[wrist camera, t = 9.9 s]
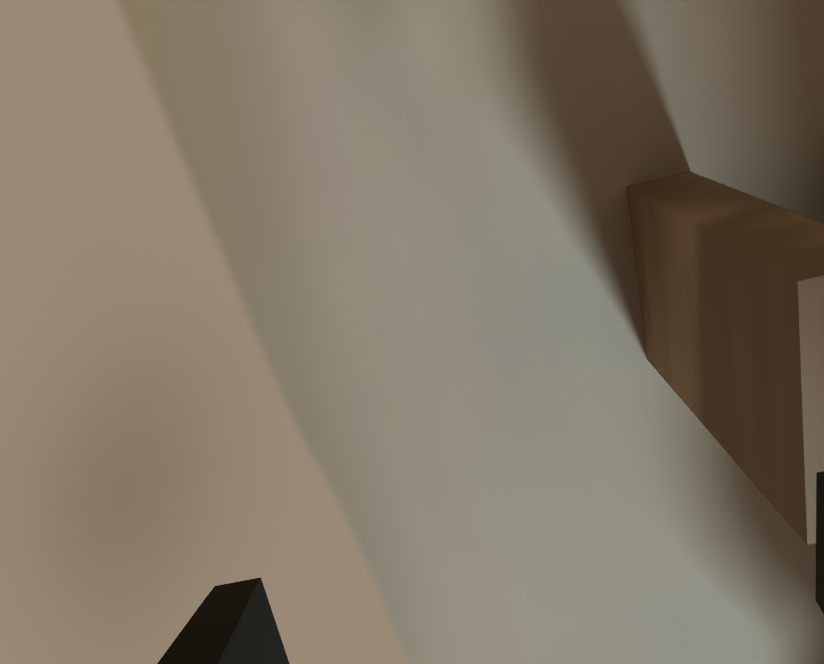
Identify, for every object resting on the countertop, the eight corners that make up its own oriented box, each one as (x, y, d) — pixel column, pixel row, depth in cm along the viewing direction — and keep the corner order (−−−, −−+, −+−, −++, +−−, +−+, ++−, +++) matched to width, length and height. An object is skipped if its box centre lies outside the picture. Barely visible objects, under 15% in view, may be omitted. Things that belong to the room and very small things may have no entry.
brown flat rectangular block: (690, 171, 18) (907, 257, 11) (706, 346, 20) (902, 524, 12) (626, 187, 18) (798, 280, 11) (647, 360, 20) (806, 545, 13)
